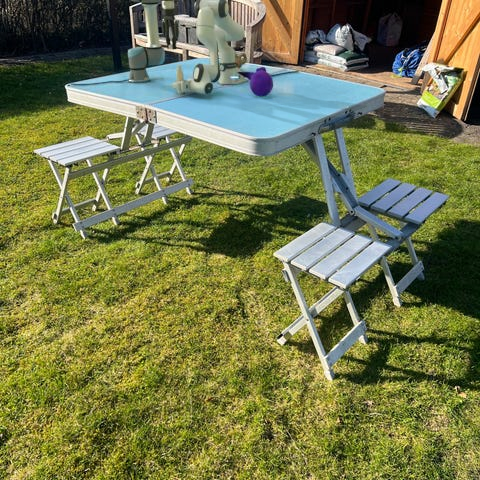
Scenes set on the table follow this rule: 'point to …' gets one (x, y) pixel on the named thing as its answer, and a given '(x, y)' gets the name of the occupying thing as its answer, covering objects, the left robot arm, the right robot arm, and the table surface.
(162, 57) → the left robot arm
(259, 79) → the toy
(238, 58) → the teapot
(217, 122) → the table surface
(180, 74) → the bottle
